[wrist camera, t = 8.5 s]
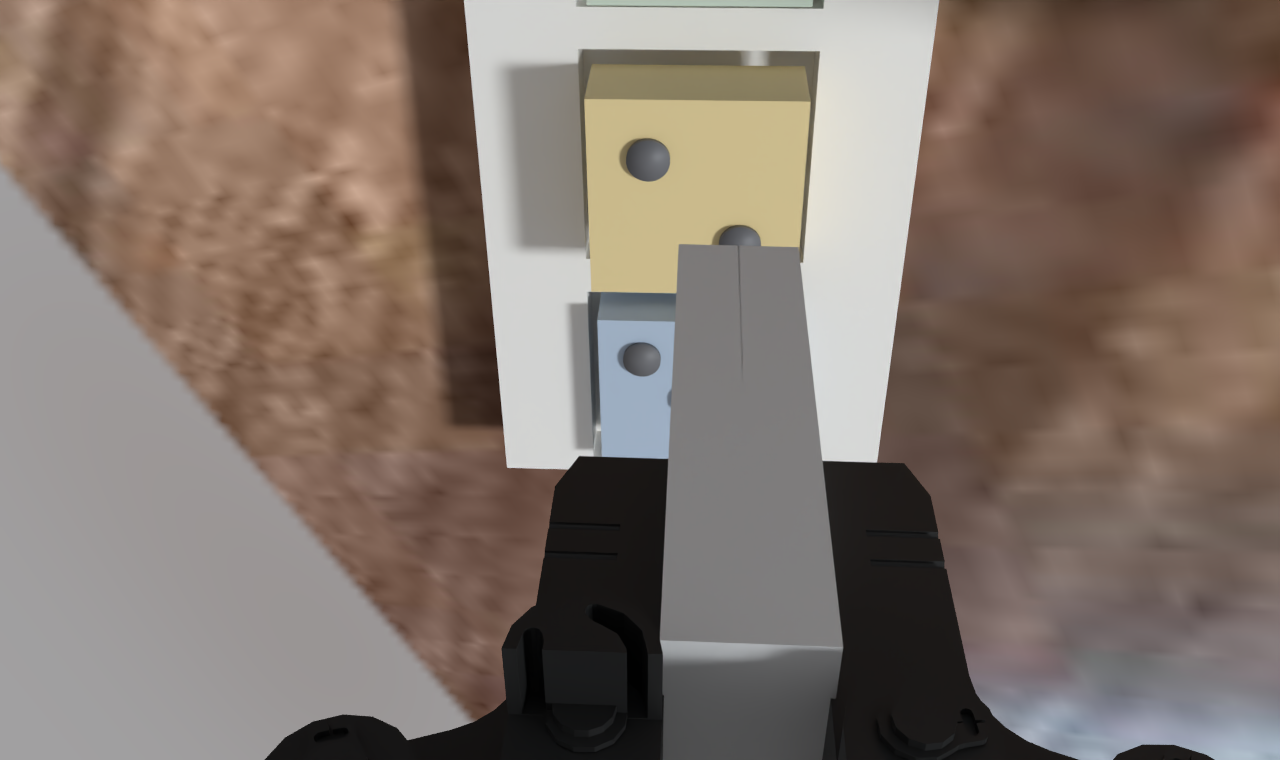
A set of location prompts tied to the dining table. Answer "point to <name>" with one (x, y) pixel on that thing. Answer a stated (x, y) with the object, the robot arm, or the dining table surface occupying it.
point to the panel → (558, 194)
